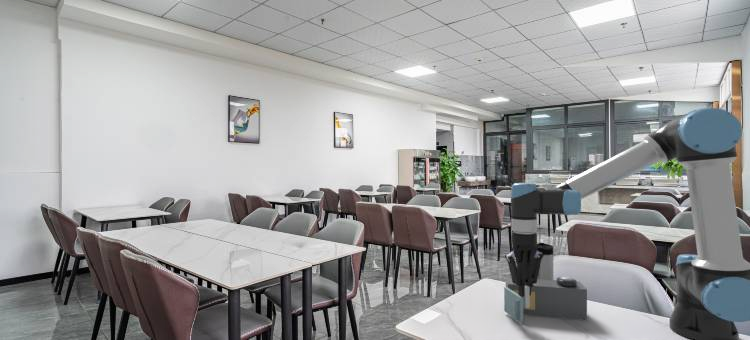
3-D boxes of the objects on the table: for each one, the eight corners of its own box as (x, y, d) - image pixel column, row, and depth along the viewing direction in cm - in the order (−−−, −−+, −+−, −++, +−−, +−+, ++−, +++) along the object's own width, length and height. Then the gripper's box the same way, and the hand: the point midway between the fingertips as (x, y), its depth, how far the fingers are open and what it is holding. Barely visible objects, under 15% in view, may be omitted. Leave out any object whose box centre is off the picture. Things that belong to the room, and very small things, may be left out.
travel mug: (549, 293, 140) (549, 242, 140) (556, 299, 134) (556, 246, 134) (532, 293, 141) (532, 242, 141) (538, 299, 134) (538, 246, 134)
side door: (501, 311, 121) (501, 287, 121) (507, 310, 122) (507, 287, 122) (517, 323, 112) (517, 298, 112) (523, 323, 112) (523, 297, 112)
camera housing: (579, 310, 124) (579, 275, 123) (587, 320, 116) (586, 283, 116) (505, 304, 130) (505, 271, 130) (508, 313, 122) (507, 277, 122)
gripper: (533, 228, 119) (534, 299, 119) (499, 231, 116) (500, 304, 116) (549, 232, 112) (550, 308, 112) (513, 235, 108) (514, 313, 109)
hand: (524, 306), depth 114 cm, fingers closed
